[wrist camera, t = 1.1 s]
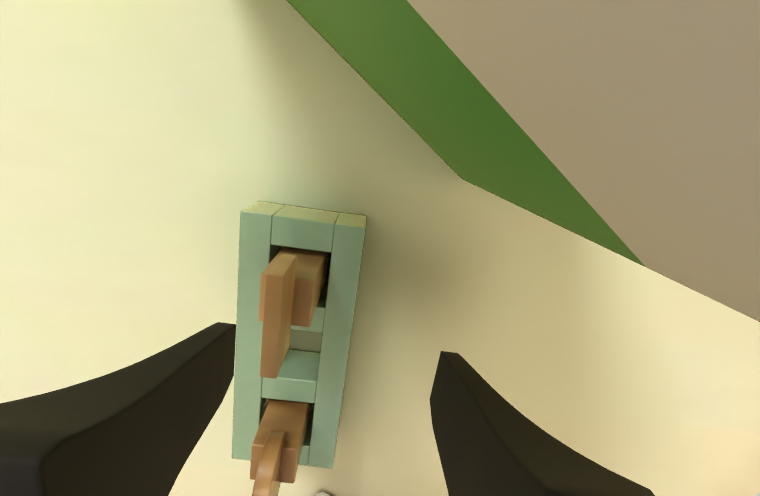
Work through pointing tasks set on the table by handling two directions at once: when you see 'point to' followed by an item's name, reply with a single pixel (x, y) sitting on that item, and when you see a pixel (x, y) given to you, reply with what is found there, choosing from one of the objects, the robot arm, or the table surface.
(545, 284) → the table surface
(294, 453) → the wooden block with tab
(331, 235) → the rack
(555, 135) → the hardback book
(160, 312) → the table surface
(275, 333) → the wooden t-shaped block
